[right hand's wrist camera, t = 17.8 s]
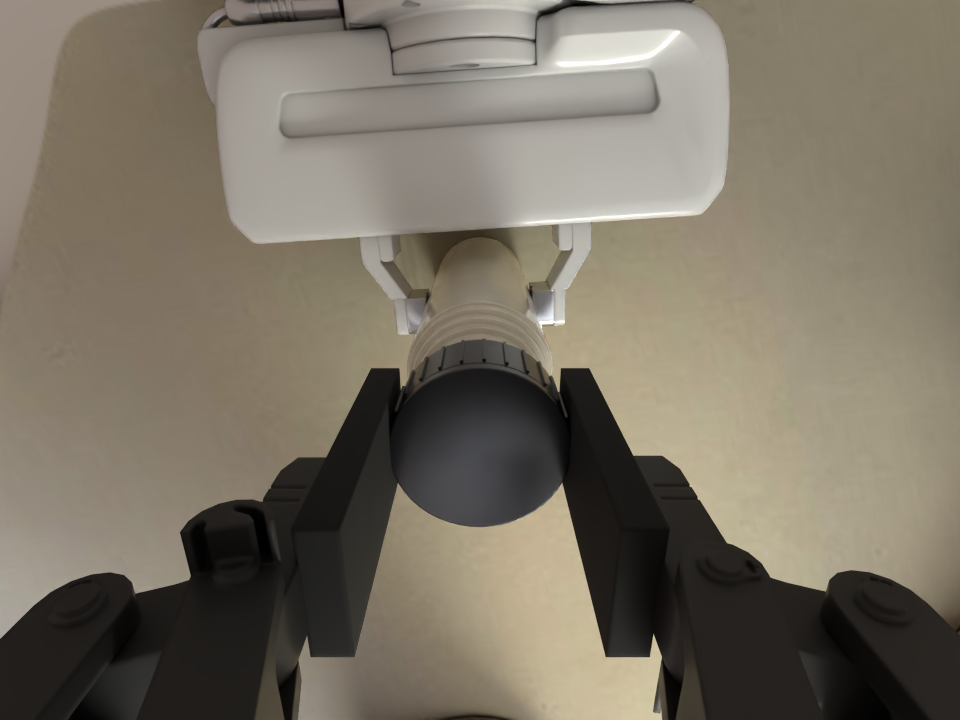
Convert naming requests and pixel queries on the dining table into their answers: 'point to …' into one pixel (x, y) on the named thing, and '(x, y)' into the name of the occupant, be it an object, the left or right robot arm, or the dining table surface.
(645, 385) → the dining table surface
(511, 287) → the bottle
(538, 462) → the cap
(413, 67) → the left robot arm
